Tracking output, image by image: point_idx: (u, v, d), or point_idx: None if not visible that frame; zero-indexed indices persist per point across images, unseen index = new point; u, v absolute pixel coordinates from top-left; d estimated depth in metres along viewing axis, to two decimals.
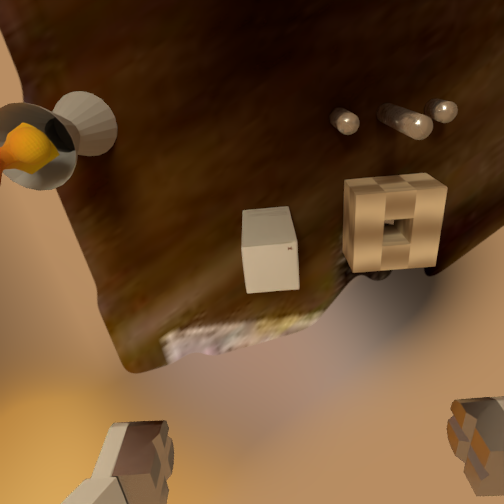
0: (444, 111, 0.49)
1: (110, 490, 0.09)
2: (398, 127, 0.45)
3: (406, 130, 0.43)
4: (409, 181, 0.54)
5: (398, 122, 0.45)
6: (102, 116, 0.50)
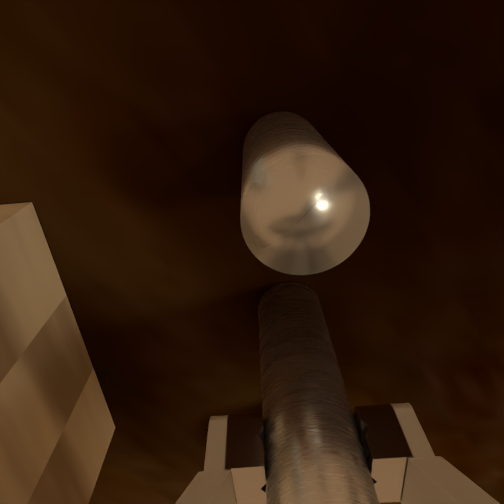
0: None
1: (226, 483, 0.09)
2: None
3: None
4: (63, 442, 0.15)
5: None
6: None
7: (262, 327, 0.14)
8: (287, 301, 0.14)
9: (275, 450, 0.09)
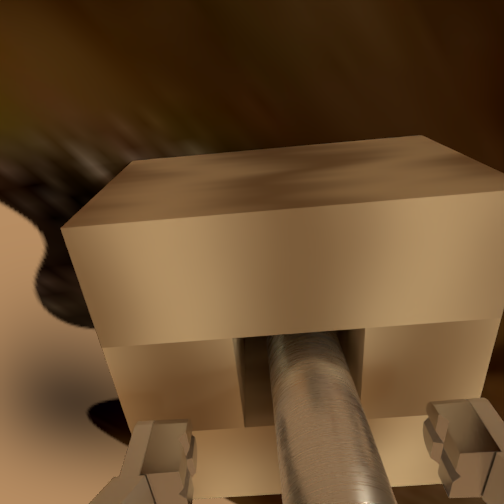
0: None
1: (139, 488, 0.09)
2: (303, 392, 0.11)
3: (328, 482, 0.08)
4: None
5: (326, 394, 0.10)
6: None
7: None
8: None
9: (279, 364, 0.12)
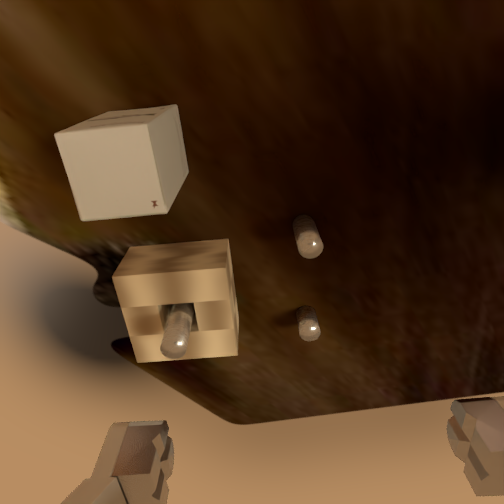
0: (311, 330, 0.48)
1: (110, 490, 0.09)
2: (172, 318, 0.41)
3: (169, 333, 0.39)
4: (235, 312, 0.47)
5: (177, 318, 0.41)
6: None
7: None
8: None
9: (170, 313, 0.42)
